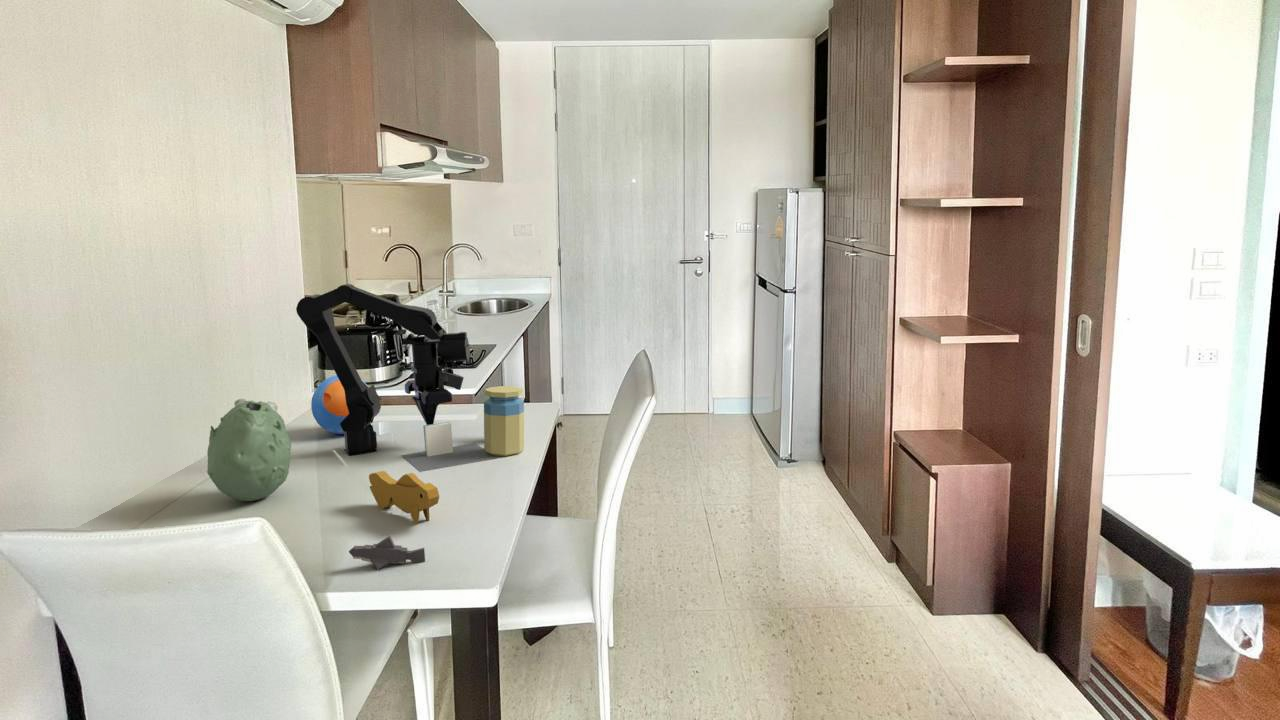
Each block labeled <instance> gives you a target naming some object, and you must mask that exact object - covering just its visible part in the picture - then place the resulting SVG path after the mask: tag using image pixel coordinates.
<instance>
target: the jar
mask: <svg viewBox="0 0 1280 720" xmlns="http://www.w3.org/2000/svg"><path fill="white" fill-rule="evenodd" d="M523 391H524V389H523V388H521V387H518V386H506V385H501V386H491V387H490V386H489V387H487V388H486V389H484V395H485V396H487V397H489V398H488V399H487V400H485V401H483V434H484V435H483V444H484V445H483V447H484V448H483V449H484V451H486V452H488V453H490V454H492V455H494V456H496V457H509V456H515V455H518V454H520V453H521V452H522V451H523V450H525V401H524V400H523V399H521V398H520V396H521V395H523V394H524V392H523Z"/></svg>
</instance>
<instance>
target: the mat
mask: <svg viewBox="0 0 1280 720" xmlns="http://www.w3.org/2000/svg"><path fill="white" fill-rule="evenodd" d="M400 456H401V457H402V458H403V459H404V460H405V461H406V462H408V463H409V464H410V465H411V466H412V467H414V469H415V470H417V471H419V473H424V472H427V471H434V470H438V469H444V468H451V467H455V466H462V465H468V464H473V463H479V462H486V461H490V460H496V459H498V456H494V455H492V454H490V453H488V452H486V451H484V448H483V447H482V446H480V445H478V444H477V443H475V442H472V443H467V444H461V445H456V446H453V452H452V453H446V454H440V455H434V456H427V455H426V453H425V450H424V451H419V452H418V451H417V452H412V453H406V454H400Z"/></svg>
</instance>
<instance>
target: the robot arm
mask: <svg viewBox="0 0 1280 720" xmlns="http://www.w3.org/2000/svg"><path fill="white" fill-rule="evenodd" d="M345 303H346V304H350V305H352V306H355V307H356V308H360V309H363V310H365V311H368V312H371V313H373V314H376V315H378V316H381V317H383V318H386V319H389V320H392V321H394V323H397V324H398V325H399V326H400V327H401V328H403V329H405V330H406V331H408V332H410V333H408V335H407V336H406V338H405V339H404V340H403V341H402V345H405V346H406V345H411V354H412V355H411V356H412V366H410V370H411V372H413V379H412V380H407V381H406V382H405V384H404V392H405V393H406V394H407V395H410V394H411V392H414V394H415V396H413V397H411V399H412V401H413V402H414V404H415V406H416V408H417V410H418V411H419V413H420V415H421V417H422V418H423V420H424V423H425V425H430V424H435V418H436V414H437V410H438V409H437V408H438V406H439V405H440V404H446V403H452V402H453V395H452V394H453V393H451V391H449V390H448V389H446V388H445V387H449V388H453V389H455V390H459V391H460V390H461V388H462V385H463V382H464V376H462V375H459V374H456V373H454V369H452V368H449V367H444V369H443V368H442V367H441V366H440V365H439V361H438V360H439V359H438V357H439V358H440V359H443V362H469V361H470V357H471V344H470V343H469V338H468V333H467V332H466V331H459V332H451V333H450V332H449V333H447V332H446V330H445V329H444V328H443V327H442V325H441V324H440V323H439V322H438V319H437V315H436V314H435V312H434V311H433V310H432V309H430V308H428V307H423V306H422V307H421V306H416V305H411V304H410V305H408V304H402V303H399V302H396V301H393V300H390V299H388V298H385V297H382V296H380V295H378V294H375V293H372V292H369V291H368V290H367V291H366V290H364V289H362V288H359V287H357V286H354V285H353V284H352V283H345V284H341V285H340V286H338V287H337V288H334V289H332V290H329V291H328V292H325V293H322V294H317V293H316V294H313V295H309V296H305V297H303V298H301V299H299V301H298V302H297V305H296V307H295V308H296V309H295V310H296V314H297V316H298V317H299V319H300V320H301V321H302V323H303V324H304V325H305V327H306V328H307V329H308V330H310V332H312V333H313V334H314V335H315V336H316V337H317V340H318V342H319V343H320V345H321V347H322V349H323V351H324V354H325V355H326V357H327V359H328V362H329V363H330V365H331V367H332V369H333V370H334V372H335V375H337V377H338V379H339V380H340V382H341V384H342V386H343V388H344V391H345V399H346V405H347V408H348V411H349V414H348V415H347V417H346V418H345V419H344V420H343V421H342V422H341V423H340V425H341V428H342V430H343V431H344V434H343V435H344V446H345V448H344V449H343V451H344V452H345V453H346V454H347V455H348V456H349V457H354V456H359V455H360V456H361V455H364V454H365V455H366V454H371V453H377V452H378V450H377V449H378V441H377V440H378V439H377V432H376V431H375V430H374V426H373V425H372V423H373V422H374V419H375V417H377V416H378V414H379V413H380V412H381V408H382V404H381V400H382V397H381V396H379V394H378V392H377V389H376V387H375V385H374V384H372V385H370V386H368V384H367V383H366V384H364V383H365V382H364V381H363V380H362V378H361V376H360V375H359V372H358V370H357V368H356V367H355V364H354V363H353V361H352V359H351V357H350V354H349V352H348V351H347V349H346V347H345V345H344V343H343V340H342V339H341V337H340V335H339V334H338V331H337V329H336V325H335V316H334V312H333V309H334V308H336V307H339V306H341V305H342V304H345ZM363 382H364V383H363Z"/></svg>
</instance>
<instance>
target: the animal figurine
mask: <svg viewBox="0 0 1280 720" xmlns="http://www.w3.org/2000/svg"><path fill="white" fill-rule="evenodd" d="M348 550H349V549H348ZM425 552H426V551H425V547H422V548H421V547H420V548H417V549H412V550H408V547H403V546H402V545H398V544H395V543H394V541H393V539H392V536H391V535H388V536H387V537H385V538H383V539H382V540H380V541H379V542H377V543H373V545H372V544H364V545H354V546H353V547H352V548H350V550H349V551H348V553H349V554H350V555H351V556H352V559H356V560H361V561H362V562H368V563H372V564H373V565H374V567H375V568H376V569H377V571H379V570H382V569H383V568H385V567H386V566H389V565H390V564H406V562H407V560H409V561H410V562H415V563H425V562H426V553H425Z"/></svg>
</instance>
